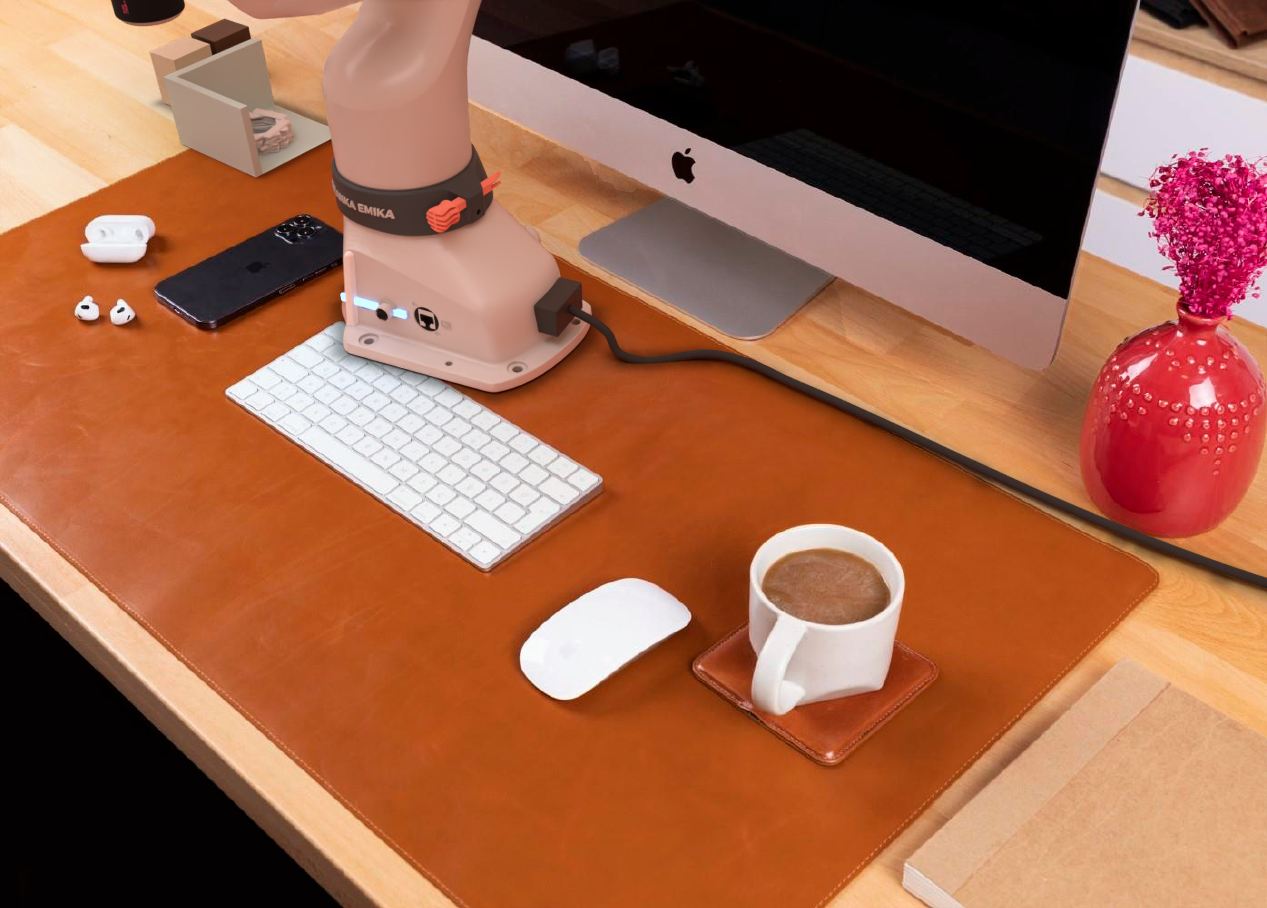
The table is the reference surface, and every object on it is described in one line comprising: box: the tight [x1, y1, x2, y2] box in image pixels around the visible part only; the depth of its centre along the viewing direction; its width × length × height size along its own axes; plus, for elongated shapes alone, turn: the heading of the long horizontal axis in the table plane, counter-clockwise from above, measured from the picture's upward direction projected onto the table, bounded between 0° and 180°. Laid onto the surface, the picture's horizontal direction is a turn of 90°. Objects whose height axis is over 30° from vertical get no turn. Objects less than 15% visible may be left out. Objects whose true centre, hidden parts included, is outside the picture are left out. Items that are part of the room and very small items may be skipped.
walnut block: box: [190, 18, 252, 56], centre depth 144 cm, size 4×5×6 cm
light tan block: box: [149, 35, 212, 107], centre depth 140 cm, size 4×5×6 cm
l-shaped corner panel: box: [163, 36, 331, 178], centre depth 133 cm, size 12×12×8 cm
